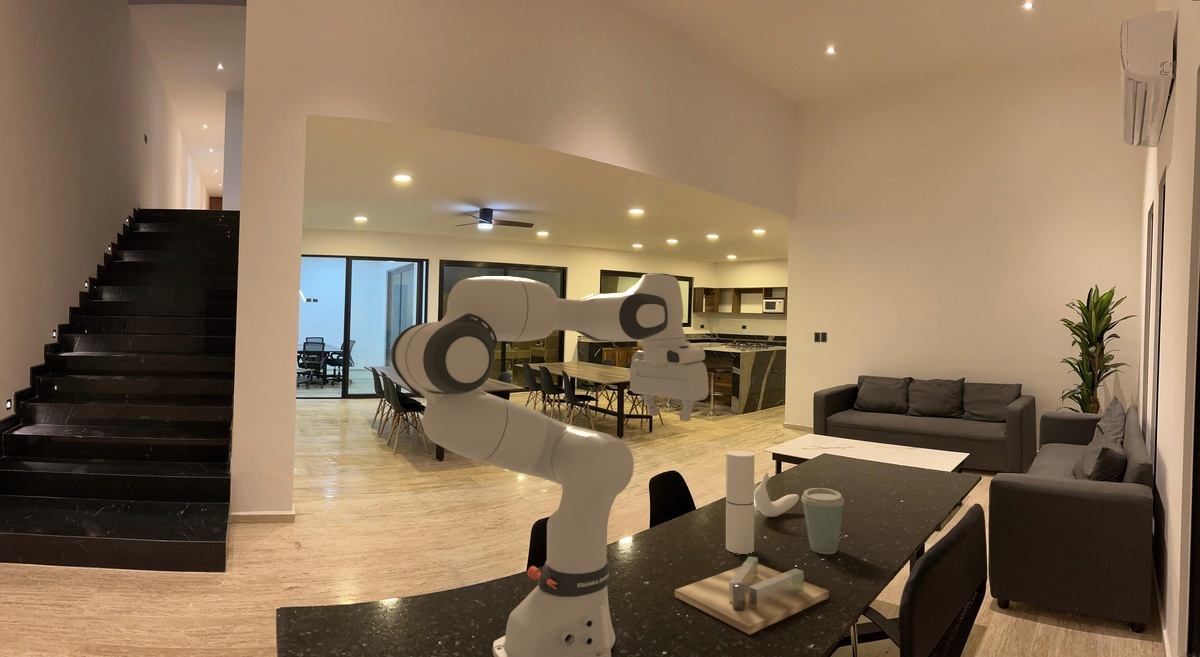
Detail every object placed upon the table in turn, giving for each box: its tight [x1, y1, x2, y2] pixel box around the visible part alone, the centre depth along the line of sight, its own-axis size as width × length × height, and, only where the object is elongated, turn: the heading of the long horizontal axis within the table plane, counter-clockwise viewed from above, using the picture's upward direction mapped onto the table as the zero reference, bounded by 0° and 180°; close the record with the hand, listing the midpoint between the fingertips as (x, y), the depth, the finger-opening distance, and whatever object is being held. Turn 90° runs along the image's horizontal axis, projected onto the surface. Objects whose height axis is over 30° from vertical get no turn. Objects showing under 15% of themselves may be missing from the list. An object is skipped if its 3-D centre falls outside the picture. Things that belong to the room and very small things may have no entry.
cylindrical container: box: [725, 450, 755, 555], centre depth 158 cm, size 7×7×25 cm
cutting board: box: [674, 563, 830, 636], centre depth 130 cm, size 26×20×2 cm
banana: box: [754, 472, 800, 518], centre depth 186 cm, size 5×19×15 cm, turn 130°
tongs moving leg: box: [729, 555, 759, 611], centre depth 129 cm, size 19×4×5 cm, turn 152°
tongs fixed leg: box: [749, 568, 804, 610], centre depth 126 cm, size 16×2×4 cm, turn 127°
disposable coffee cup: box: [800, 487, 845, 555], centre depth 157 cm, size 11×11×15 cm
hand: (669, 418), depth 126 cm, fingers open, 8 cm apart
